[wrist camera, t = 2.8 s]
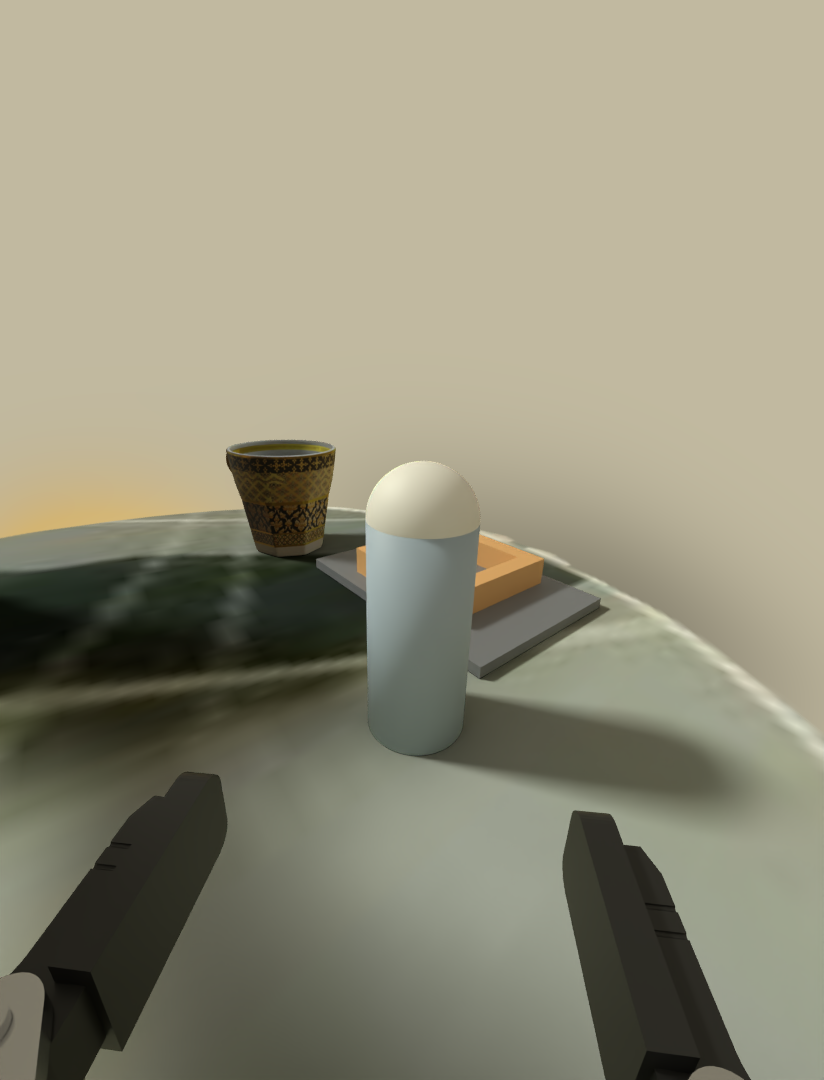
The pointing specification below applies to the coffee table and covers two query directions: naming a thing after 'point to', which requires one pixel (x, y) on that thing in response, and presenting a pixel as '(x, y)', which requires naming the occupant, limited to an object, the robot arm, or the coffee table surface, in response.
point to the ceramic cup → (284, 492)
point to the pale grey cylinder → (419, 605)
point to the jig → (494, 601)
